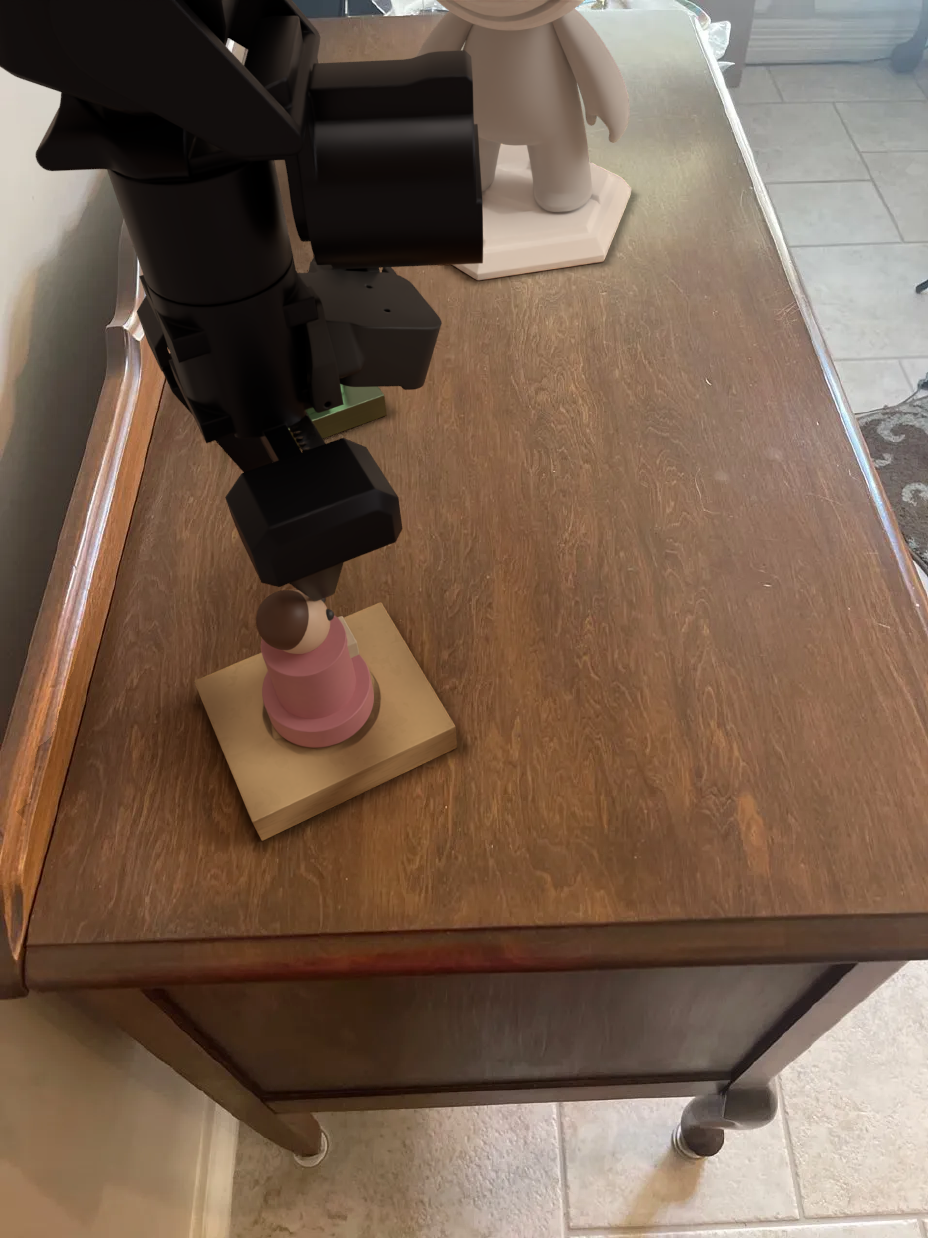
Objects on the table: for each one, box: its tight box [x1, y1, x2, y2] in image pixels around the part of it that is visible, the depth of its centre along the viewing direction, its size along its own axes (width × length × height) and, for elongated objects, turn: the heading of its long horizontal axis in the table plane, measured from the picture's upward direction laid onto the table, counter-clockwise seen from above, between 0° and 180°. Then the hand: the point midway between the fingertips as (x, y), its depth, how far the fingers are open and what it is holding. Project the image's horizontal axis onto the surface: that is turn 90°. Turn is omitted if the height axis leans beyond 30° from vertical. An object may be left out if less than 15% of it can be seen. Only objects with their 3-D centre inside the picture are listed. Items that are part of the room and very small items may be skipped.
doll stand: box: [193, 601, 458, 842], centre depth 53 cm, size 12×10×2 cm
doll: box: [255, 589, 374, 748], centre depth 48 cm, size 6×6×10 cm
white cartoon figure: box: [415, 0, 632, 281], centre depth 73 cm, size 20×23×35 cm
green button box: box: [288, 384, 388, 448], centre depth 70 cm, size 10×8×4 cm
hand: (292, 534), depth 48 cm, fingers open, 9 cm apart
